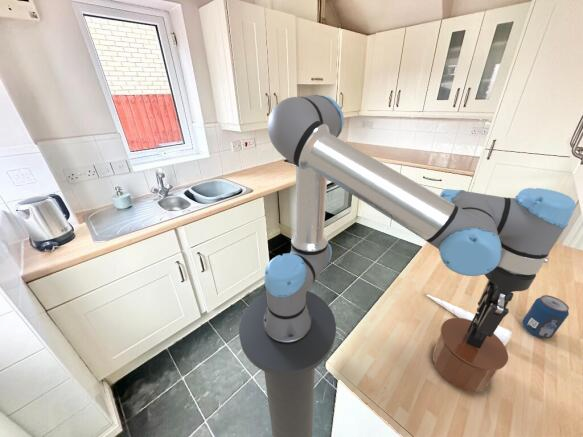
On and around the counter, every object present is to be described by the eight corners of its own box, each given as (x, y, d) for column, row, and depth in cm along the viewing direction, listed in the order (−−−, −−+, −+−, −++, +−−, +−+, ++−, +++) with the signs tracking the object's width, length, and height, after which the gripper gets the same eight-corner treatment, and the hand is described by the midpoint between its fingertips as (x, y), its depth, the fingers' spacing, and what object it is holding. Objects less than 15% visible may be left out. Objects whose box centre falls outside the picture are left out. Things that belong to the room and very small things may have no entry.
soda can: (532, 319, 78) (550, 291, 72) (557, 338, 72) (579, 310, 66) (514, 323, 77) (531, 295, 71) (538, 342, 71) (559, 314, 65)
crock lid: (435, 350, 59) (445, 326, 55) (443, 312, 69) (452, 290, 65) (507, 385, 52) (525, 361, 48) (504, 337, 62) (519, 314, 58)
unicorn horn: (432, 291, 89) (435, 281, 87) (509, 341, 71) (516, 331, 69) (424, 296, 87) (427, 286, 85) (502, 349, 69) (509, 339, 67)
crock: (428, 372, 64) (438, 350, 60) (436, 337, 73) (445, 315, 69) (487, 403, 58) (503, 381, 53) (487, 360, 67) (501, 338, 62)
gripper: (543, 297, 41) (492, 375, 52) (532, 251, 52) (492, 324, 64) (489, 280, 45) (452, 356, 56) (489, 240, 56) (458, 310, 67)
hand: (473, 339), depth 60 cm, fingers closed on crock lid, 3 cm apart
